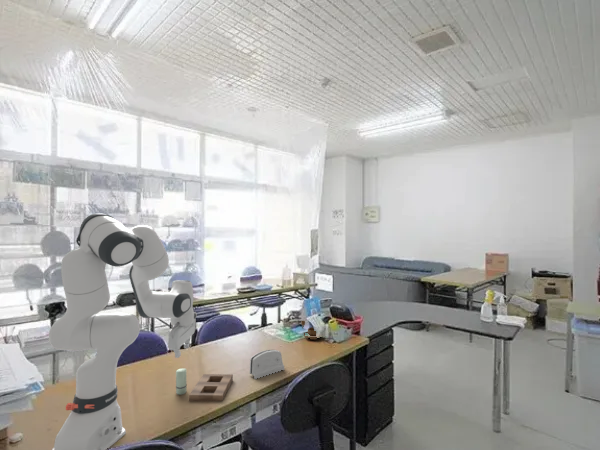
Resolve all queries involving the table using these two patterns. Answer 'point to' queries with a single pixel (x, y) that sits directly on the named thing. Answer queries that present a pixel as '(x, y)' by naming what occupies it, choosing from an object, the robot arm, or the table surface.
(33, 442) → the table surface
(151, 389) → the table surface
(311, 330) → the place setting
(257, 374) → the grey rounded block
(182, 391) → the peg
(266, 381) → the table surface
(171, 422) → the table surface
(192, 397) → the board
